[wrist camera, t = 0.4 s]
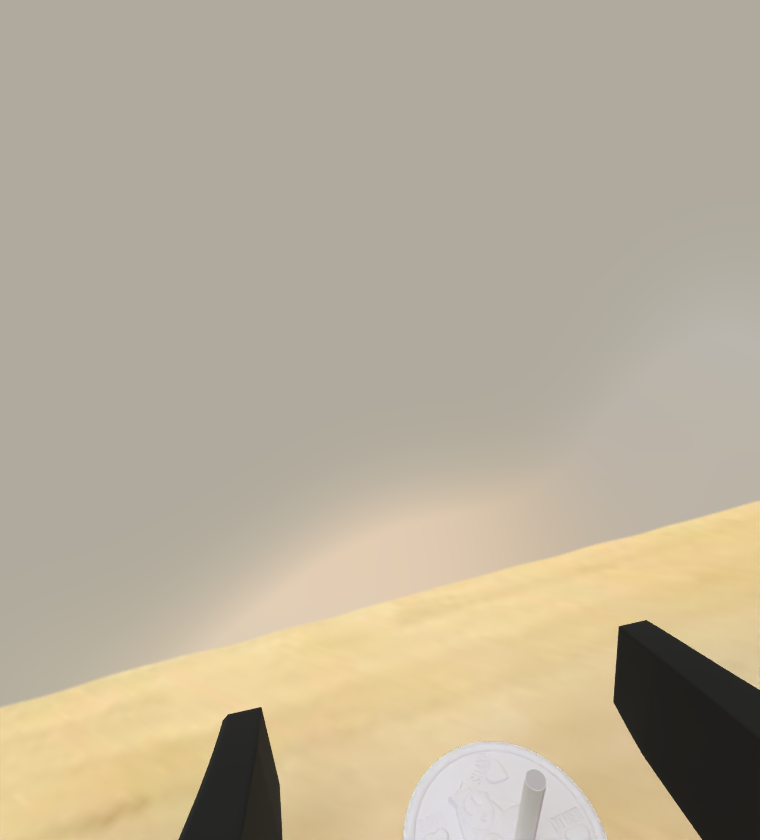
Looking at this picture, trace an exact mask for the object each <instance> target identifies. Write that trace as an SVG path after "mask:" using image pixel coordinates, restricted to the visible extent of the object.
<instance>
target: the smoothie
mask: <svg viewBox="0 0 760 840" xmlns="http://www.w3.org/2000/svg"><path fill="white" fill-rule="evenodd" d="M403 840H608V839H607V836H606V833H605V831H604V828H603V826H602V824H601V822H600V820H599V817H598V815H597V813H596V812H595V810H594V808H593V807H592V805H591V803H590V802H589V800H588V799H587V797H586V796H585V795H584V793H583V792H582V791H581V790H580V788H579V787H578V786H577V785H576V784H575V783H574V781H573V780H572V779H571V778H570V777H569V776H568V775H567V774H566V773H564V772H563V771H562V770H561V769H560V768H559V767H557V766H556V765H555V764H553V763H552V762H551V761H549V760H548V759H546V758H545V757H543V756H541V755H539V754H537V753H535V752H533V751H531V750H529V749H526V748H524V747H521V746H518V745H514V744H510V743H505V742H496V741H483V742H475V743H471V744H467V745H464V746H461V747H458V748H456V749H454V750H452V751H450V752H448V753H447V754H445V755H443V756H442V757H441V758H440V759H438V760H437V761H436V762H435V763H434V764H433V765H432V766H431V767H430V768H429V769H428V770H427V771H426V772H425V774H424V775H423V776H422V778H421V779H420V781H419V782H418V784H417V786H416V788H415V790H414V792H413V794H412V797H411V799H410V802H409V805H408V808H407V813H406V817H405V824H404V833H403Z"/></svg>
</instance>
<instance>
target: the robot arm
mask: <svg viewBox="0 0 760 840" xmlns="http://www.w3.org/2000/svg"><path fill="white" fill-rule="evenodd" d="M613 702H614V704H615V706H616V708H617V709H618V711H619V713H620V715H621V717H622V719H623V721H624V723H625V724H626V726H627V728H628V730H629V732H630V733H631V735H632V737H633V739H634V740H635V742H636V744H637V746H638V747H639V749H640V751H641V753H642V754H643V756H644V757H645V759H646V760H647V762H648V763H649V765H650V766H651V768H652V769H653V770H654V772H655V773H656V775H657V776H658V778H659V779H660V780H661V782H662V783H663V785H664V786H665V788H666V789H667V790H668V792H669V793H670V795H671V796H672V798H673V799H674V800H675V802H676V803H677V805H678V806H679V807H680V809H681V810H682V812H683V813H684V815H685V816H686V817H687V819H688V820H689V822H690V823H691V824H692V826H693V827H694V829H695V830H696V831H697V833H698V834H699V836H700V837H701V839H702V840H760V690H759V689H757V688H755V687H754V686H752V685H750V684H749V683H747V682H745V681H744V680H742V679H740V678H739V677H737V676H736V675H734V674H732V673H731V672H729V671H727V670H726V669H724V668H723V667H721V666H719V665H718V664H716V663H715V662H713V661H711V660H710V659H708V658H707V657H705V656H703V655H702V654H700V653H699V652H697V651H695V650H694V649H692V648H691V647H689V646H688V645H686V644H684V643H683V642H681V641H680V640H678V639H676V638H675V637H673V636H672V635H670V634H668V633H667V632H665V631H664V630H662V629H660V628H659V627H657V626H655V625H654V624H652V623H650V622H649V621H647V620H645V621H641V622H636V623H632V624H627V625H623V626H619V632H618V646H617V660H616V674H615V687H614V701H613ZM179 840H282V821H281V802H280V784H279V780H278V775H277V771H276V767H275V763H274V759H273V754H272V750H271V746H270V742H269V738H268V733H267V729H266V725H265V721H264V716H263V712H262V708H261V707H259V708H255V709H251V710H246V711H242V712H237V713H233V714H228V715H227V716H226V718H225V719H224V720H223V722H222V726H221V729H220V732H219V735H218V739H217V742H216V745H215V748H214V751H213V754H212V756H211V759H210V762H209V765H208V768H207V770H206V773H205V776H204V778H203V781H202V784H201V786H200V789H199V791H198V794H197V797H196V799H195V801H194V804H193V806H192V809H191V811H190V813H189V816H188V818H187V821H186V823H185V826H184V828H183V830H182V833H181V835H180V838H179Z"/></svg>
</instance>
